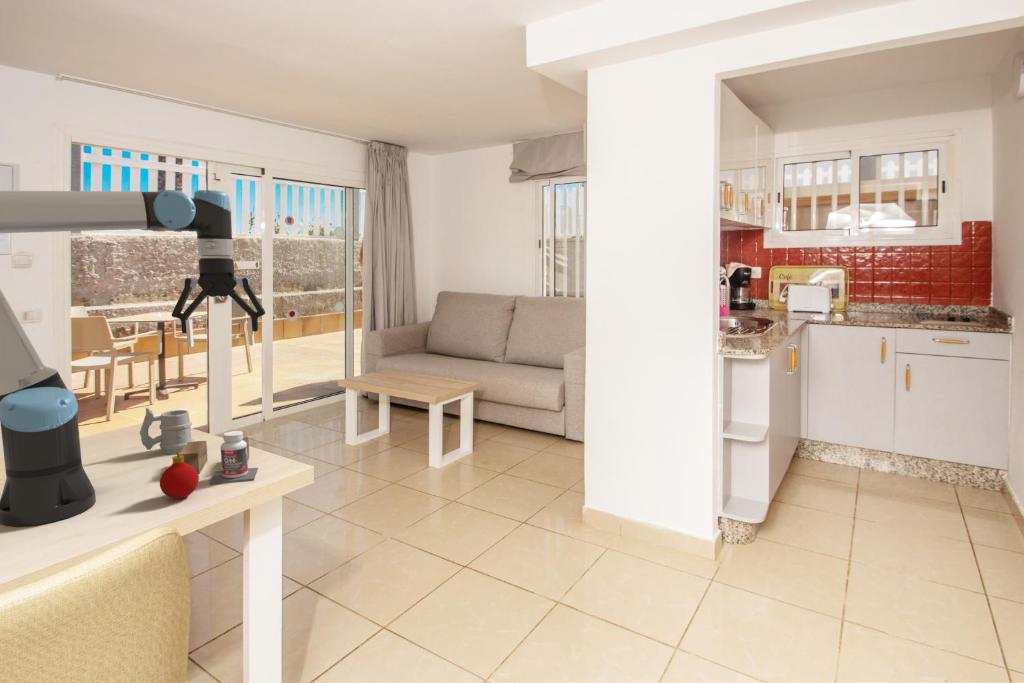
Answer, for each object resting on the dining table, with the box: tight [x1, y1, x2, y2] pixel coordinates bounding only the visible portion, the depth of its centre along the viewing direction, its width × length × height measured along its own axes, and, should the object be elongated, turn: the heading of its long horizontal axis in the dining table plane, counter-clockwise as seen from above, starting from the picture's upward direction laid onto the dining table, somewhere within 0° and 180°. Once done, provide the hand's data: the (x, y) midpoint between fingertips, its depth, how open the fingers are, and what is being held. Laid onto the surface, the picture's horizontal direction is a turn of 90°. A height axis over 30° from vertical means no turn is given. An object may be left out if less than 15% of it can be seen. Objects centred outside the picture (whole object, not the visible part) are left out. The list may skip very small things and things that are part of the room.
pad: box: [209, 467, 259, 485], centre depth 135 cm, size 9×8×1 cm
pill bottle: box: [220, 430, 249, 478], centre depth 135 cm, size 5×5×10 cm
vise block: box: [179, 437, 250, 475], centre depth 142 cm, size 14×10×5 cm
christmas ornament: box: [159, 451, 200, 499], centre depth 123 cm, size 7×7×10 cm
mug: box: [139, 407, 195, 455], centre depth 152 cm, size 8×12×12 cm, turn 125°
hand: (221, 345), depth 144 cm, fingers open, 13 cm apart
